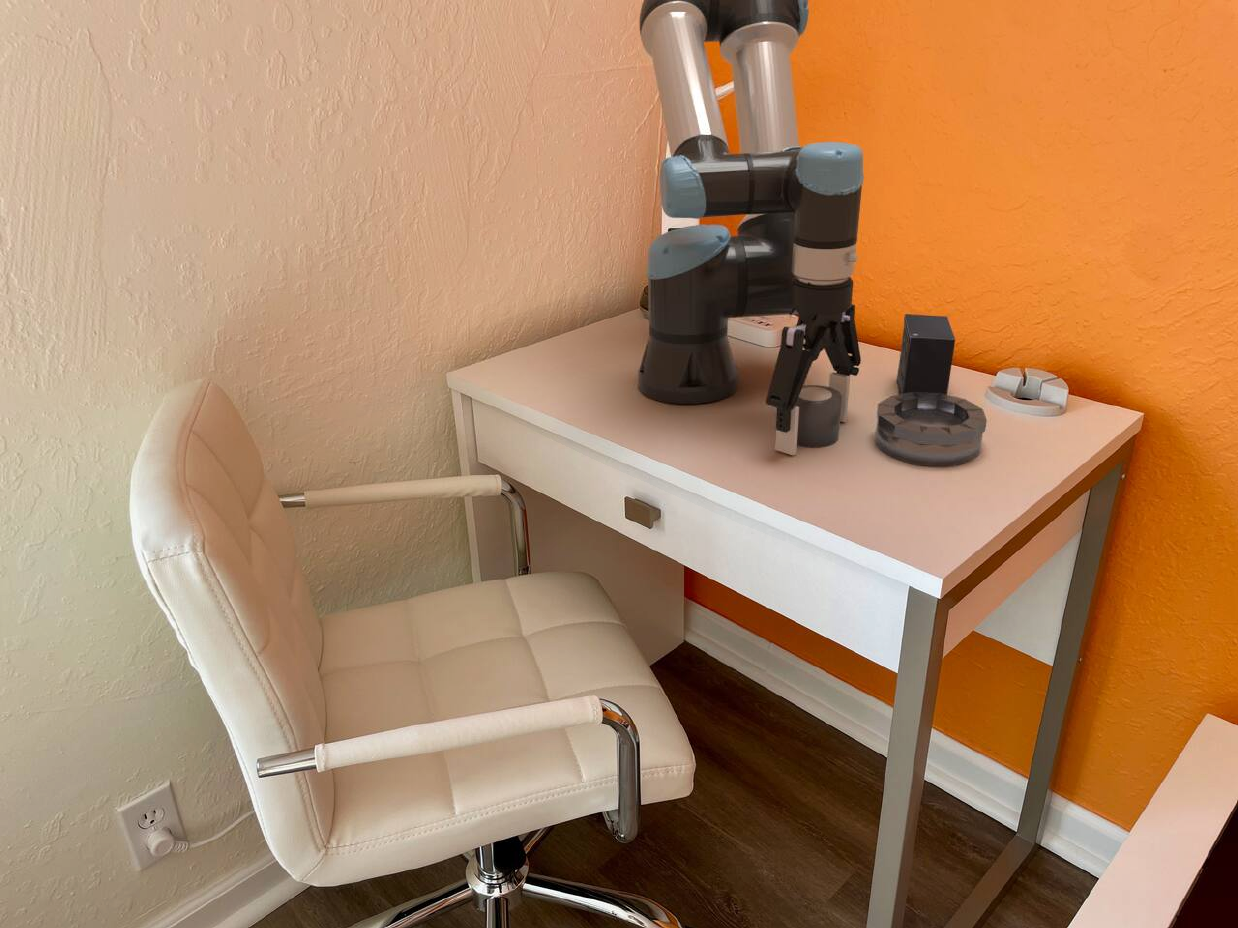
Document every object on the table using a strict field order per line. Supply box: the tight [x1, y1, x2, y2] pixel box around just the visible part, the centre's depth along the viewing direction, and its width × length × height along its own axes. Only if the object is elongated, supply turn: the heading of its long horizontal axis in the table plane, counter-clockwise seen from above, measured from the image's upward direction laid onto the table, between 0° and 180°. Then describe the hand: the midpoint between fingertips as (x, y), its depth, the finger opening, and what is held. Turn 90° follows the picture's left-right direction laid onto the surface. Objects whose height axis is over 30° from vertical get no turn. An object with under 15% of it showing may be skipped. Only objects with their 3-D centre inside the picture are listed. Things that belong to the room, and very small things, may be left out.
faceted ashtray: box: [875, 392, 987, 468], centre depth 119 cm, size 13×13×4 cm
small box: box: [896, 313, 956, 395], centre depth 132 cm, size 11×6×10 cm, turn 168°
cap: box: [795, 384, 842, 449], centre depth 122 cm, size 7×7×6 cm
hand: (811, 435), depth 123 cm, fingers open, 12 cm apart
